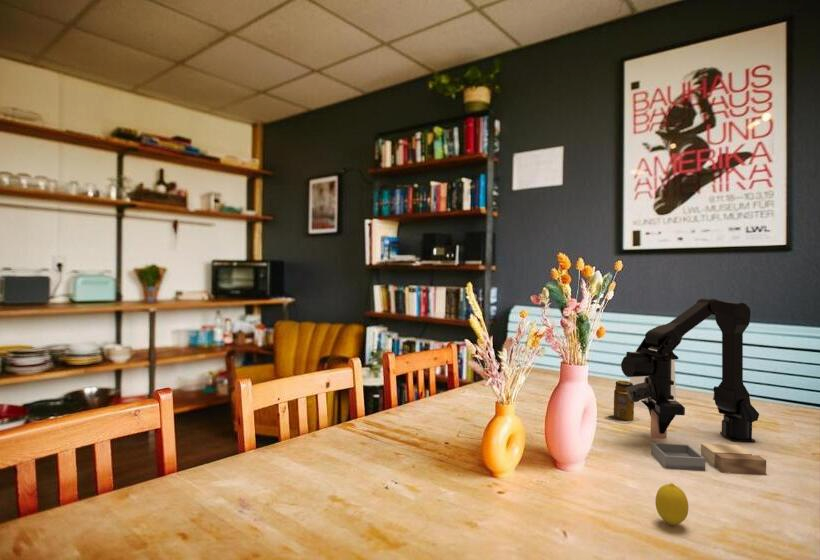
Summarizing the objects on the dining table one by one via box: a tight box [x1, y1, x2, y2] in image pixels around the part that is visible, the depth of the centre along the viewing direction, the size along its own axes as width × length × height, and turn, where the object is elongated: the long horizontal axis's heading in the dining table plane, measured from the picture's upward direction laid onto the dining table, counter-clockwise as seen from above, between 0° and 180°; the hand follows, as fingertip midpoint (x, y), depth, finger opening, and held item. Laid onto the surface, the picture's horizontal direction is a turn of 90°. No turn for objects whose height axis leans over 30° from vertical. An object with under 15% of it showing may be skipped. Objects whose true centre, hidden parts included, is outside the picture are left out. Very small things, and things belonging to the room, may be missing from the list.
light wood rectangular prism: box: [700, 442, 753, 468], centre depth 120 cm, size 9×6×4 cm, turn 83°
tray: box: [650, 442, 707, 472], centre depth 121 cm, size 9×9×3 cm
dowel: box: [650, 410, 668, 440], centre depth 133 cm, size 4×4×7 cm
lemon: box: [655, 482, 689, 526], centre depth 91 cm, size 6×6×8 cm
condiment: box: [604, 380, 640, 425], centre depth 156 cm, size 7×8×12 cm
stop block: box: [714, 453, 767, 476], centre depth 116 cm, size 10×3×4 cm, turn 83°
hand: (658, 430), depth 133 cm, fingers closed on dowel, 4 cm apart
